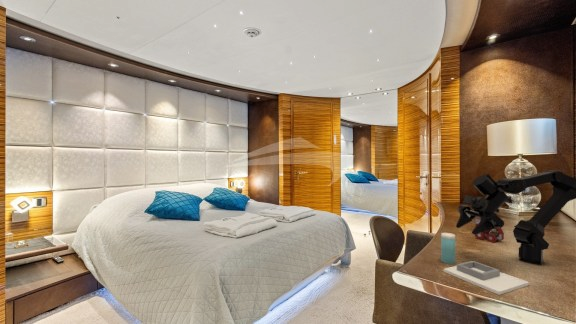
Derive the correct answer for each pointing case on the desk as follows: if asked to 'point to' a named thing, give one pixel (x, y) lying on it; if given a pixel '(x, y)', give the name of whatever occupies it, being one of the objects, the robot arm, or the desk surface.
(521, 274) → the desk surface
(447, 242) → the teal cylinder white cap
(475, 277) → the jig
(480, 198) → the robot arm
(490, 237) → the toy fire truck
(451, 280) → the desk surface
